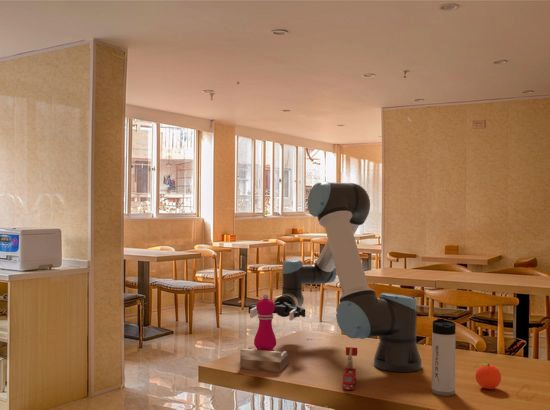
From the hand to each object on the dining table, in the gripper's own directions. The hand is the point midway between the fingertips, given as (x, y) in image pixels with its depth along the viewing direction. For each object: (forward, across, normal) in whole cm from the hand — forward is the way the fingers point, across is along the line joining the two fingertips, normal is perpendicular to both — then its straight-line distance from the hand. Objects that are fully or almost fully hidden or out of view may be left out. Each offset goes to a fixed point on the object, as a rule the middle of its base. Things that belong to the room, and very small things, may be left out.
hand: (270, 315), depth 195 cm
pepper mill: (+7, 0, -12) cm, 14 cm away
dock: (+7, 0, -15) cm, 16 cm away
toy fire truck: (+18, -29, -15) cm, 37 cm away
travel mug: (+18, -55, -15) cm, 60 cm away
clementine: (+10, -67, -15) cm, 69 cm away
